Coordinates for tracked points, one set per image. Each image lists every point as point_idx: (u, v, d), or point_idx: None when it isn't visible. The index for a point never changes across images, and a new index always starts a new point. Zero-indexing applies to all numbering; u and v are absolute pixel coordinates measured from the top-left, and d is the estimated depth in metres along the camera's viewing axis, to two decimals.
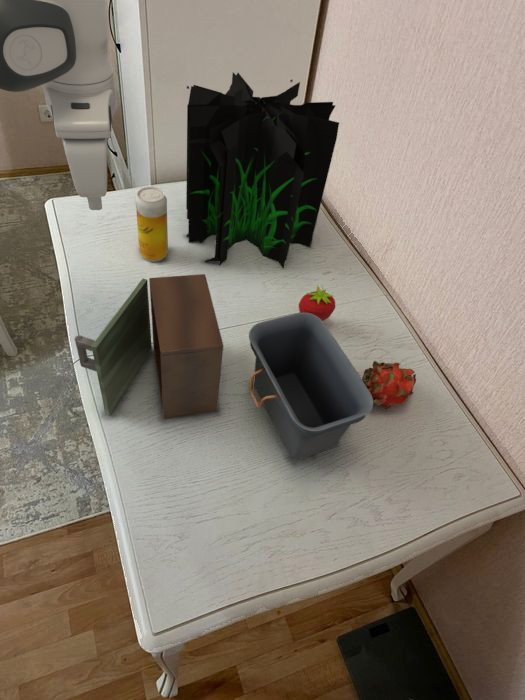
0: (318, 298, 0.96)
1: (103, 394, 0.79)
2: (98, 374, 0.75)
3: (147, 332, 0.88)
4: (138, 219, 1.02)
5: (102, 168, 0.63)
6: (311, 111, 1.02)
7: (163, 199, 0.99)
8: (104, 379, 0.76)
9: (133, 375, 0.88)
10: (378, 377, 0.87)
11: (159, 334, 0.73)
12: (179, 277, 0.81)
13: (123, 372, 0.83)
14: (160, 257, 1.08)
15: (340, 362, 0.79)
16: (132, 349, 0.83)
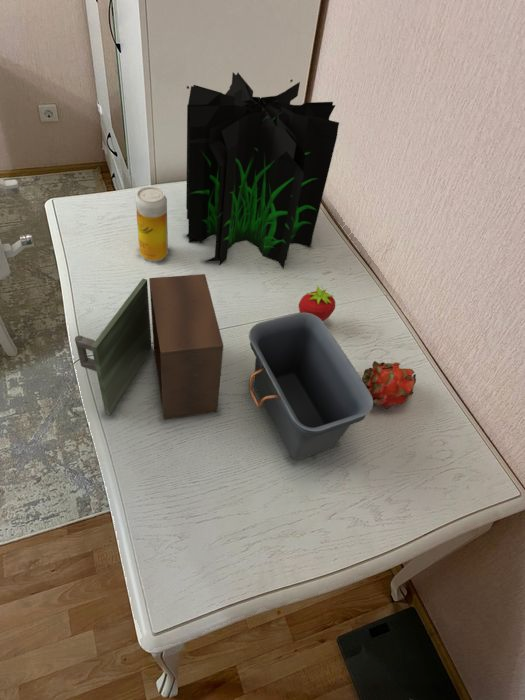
0: (318, 298, 0.96)
1: (103, 394, 0.79)
2: (98, 374, 0.75)
3: (147, 332, 0.88)
4: (138, 219, 1.02)
5: None
6: (311, 111, 1.02)
7: (163, 199, 0.99)
8: (104, 379, 0.76)
9: (133, 375, 0.88)
10: (378, 377, 0.87)
11: (159, 334, 0.73)
12: (179, 277, 0.81)
13: (123, 372, 0.83)
14: (160, 257, 1.08)
15: (340, 362, 0.79)
16: (132, 349, 0.83)
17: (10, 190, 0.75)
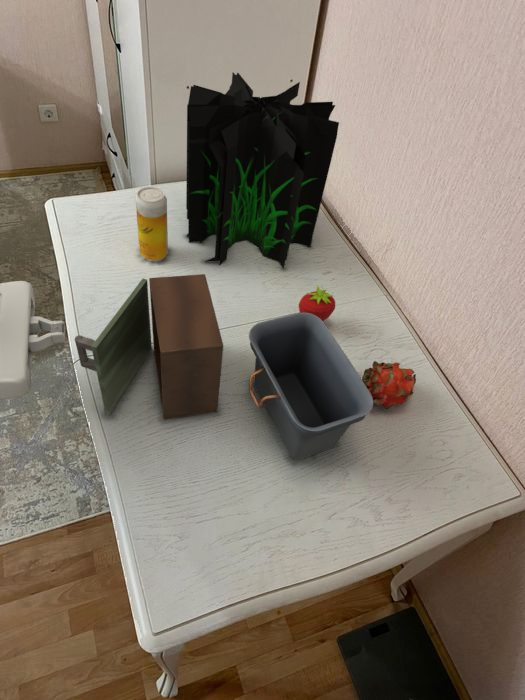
0: (318, 298, 0.96)
1: (103, 394, 0.79)
2: (98, 374, 0.75)
3: (147, 332, 0.88)
4: (138, 219, 1.02)
5: None
6: (311, 111, 1.02)
7: (163, 199, 0.99)
8: (104, 379, 0.76)
9: (133, 375, 0.88)
10: (378, 377, 0.87)
11: (159, 334, 0.73)
12: (179, 277, 0.81)
13: (123, 372, 0.83)
14: (160, 257, 1.08)
15: (340, 362, 0.79)
16: (132, 349, 0.83)
17: (54, 324, 0.74)
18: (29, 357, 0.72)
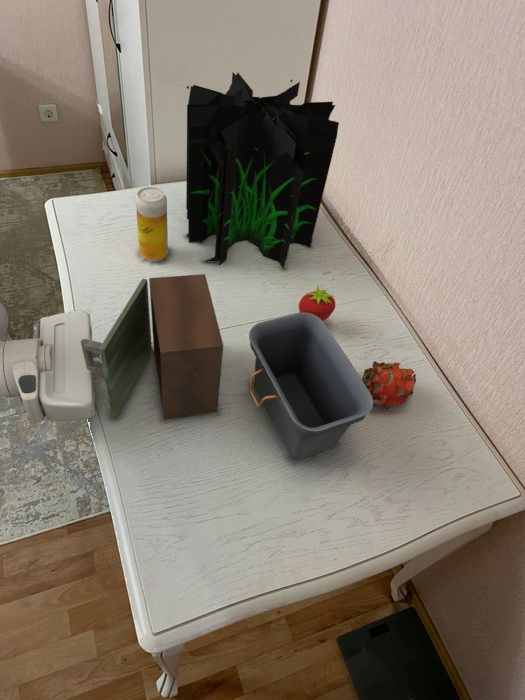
0: (318, 298, 0.96)
1: (110, 396, 0.79)
2: (105, 376, 0.75)
3: (147, 332, 0.88)
4: (138, 219, 1.02)
5: (61, 407, 0.73)
6: (311, 111, 1.02)
7: (163, 199, 0.99)
8: (111, 381, 0.76)
9: (136, 376, 0.88)
10: (378, 377, 0.87)
11: (159, 334, 0.73)
12: (179, 277, 0.81)
13: (128, 373, 0.83)
14: (160, 257, 1.08)
15: (340, 362, 0.79)
16: (135, 350, 0.83)
17: None
18: (91, 382, 0.80)
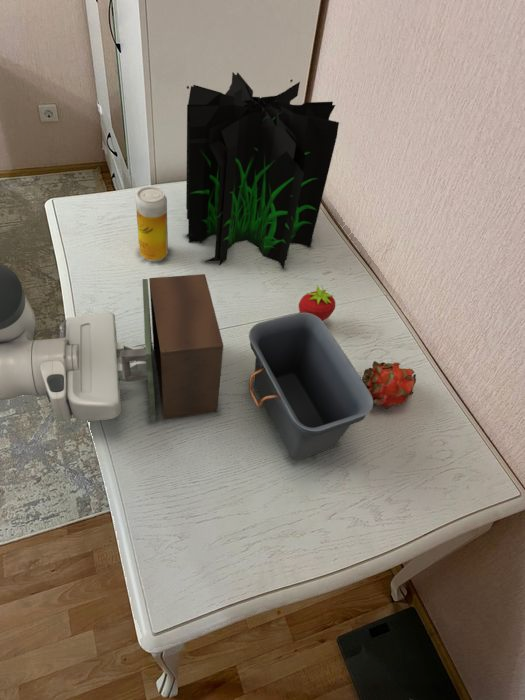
0: (318, 298, 0.96)
1: (152, 400, 0.79)
2: (149, 381, 0.75)
3: None
4: (138, 219, 1.02)
5: (88, 407, 0.74)
6: (311, 111, 1.02)
7: (163, 199, 0.99)
8: (153, 384, 0.77)
9: None
10: (378, 377, 0.87)
11: (159, 334, 0.73)
12: (179, 277, 0.81)
13: None
14: (160, 257, 1.08)
15: (340, 362, 0.79)
16: None
17: None
18: None
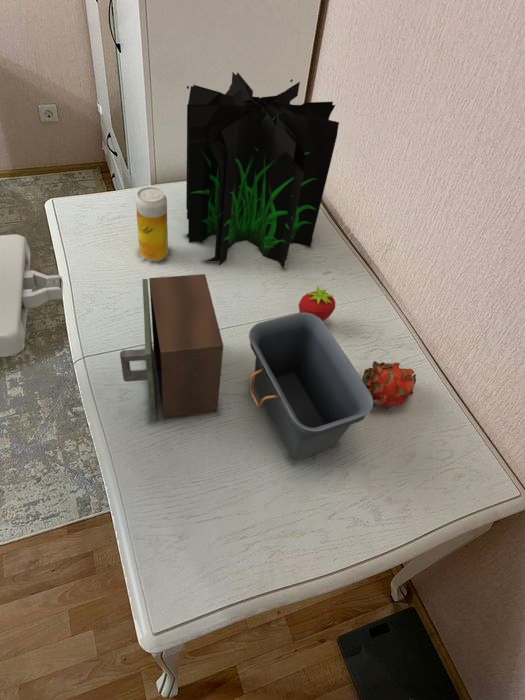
0: (318, 298, 0.96)
1: (152, 400, 0.79)
2: (149, 381, 0.75)
3: None
4: (138, 219, 1.02)
5: None
6: (311, 111, 1.02)
7: (163, 199, 0.99)
8: (153, 384, 0.77)
9: None
10: (378, 377, 0.87)
11: (159, 334, 0.73)
12: (179, 277, 0.81)
13: (153, 375, 0.83)
14: (160, 257, 1.08)
15: (340, 362, 0.79)
16: None
17: (50, 279, 0.68)
18: (23, 314, 0.66)
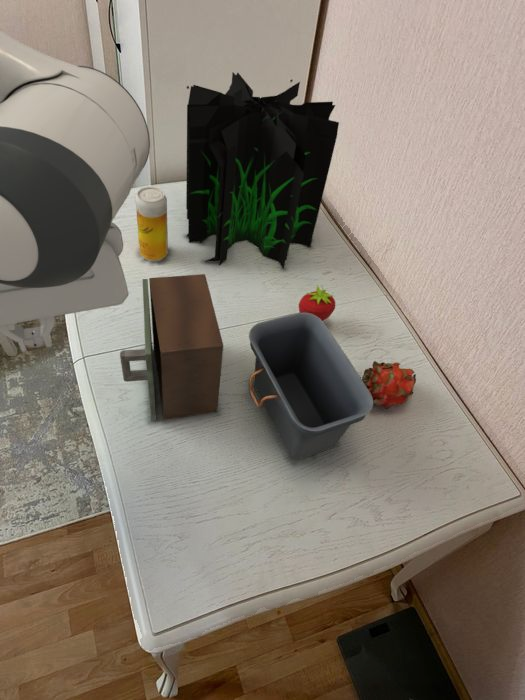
0: (318, 298, 0.96)
1: (152, 400, 0.79)
2: (149, 381, 0.75)
3: None
4: (138, 219, 1.02)
5: None
6: (311, 111, 1.02)
7: (163, 199, 0.99)
8: (153, 384, 0.77)
9: None
10: (378, 377, 0.87)
11: (159, 334, 0.73)
12: (179, 277, 0.81)
13: (153, 375, 0.83)
14: (160, 257, 1.08)
15: (340, 362, 0.79)
16: None
17: (41, 341, 0.51)
18: None
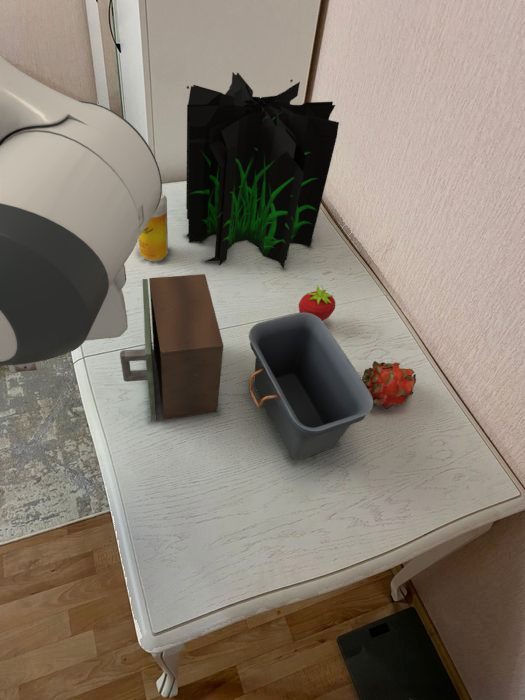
0: (318, 298, 0.96)
1: (152, 400, 0.79)
2: (149, 381, 0.75)
3: None
4: None
5: None
6: (311, 111, 1.02)
7: (163, 199, 0.99)
8: (153, 384, 0.77)
9: None
10: (378, 377, 0.87)
11: (159, 334, 0.73)
12: (179, 277, 0.81)
13: (153, 375, 0.83)
14: (160, 257, 1.08)
15: (340, 362, 0.79)
16: None
17: (31, 364, 0.49)
18: None
